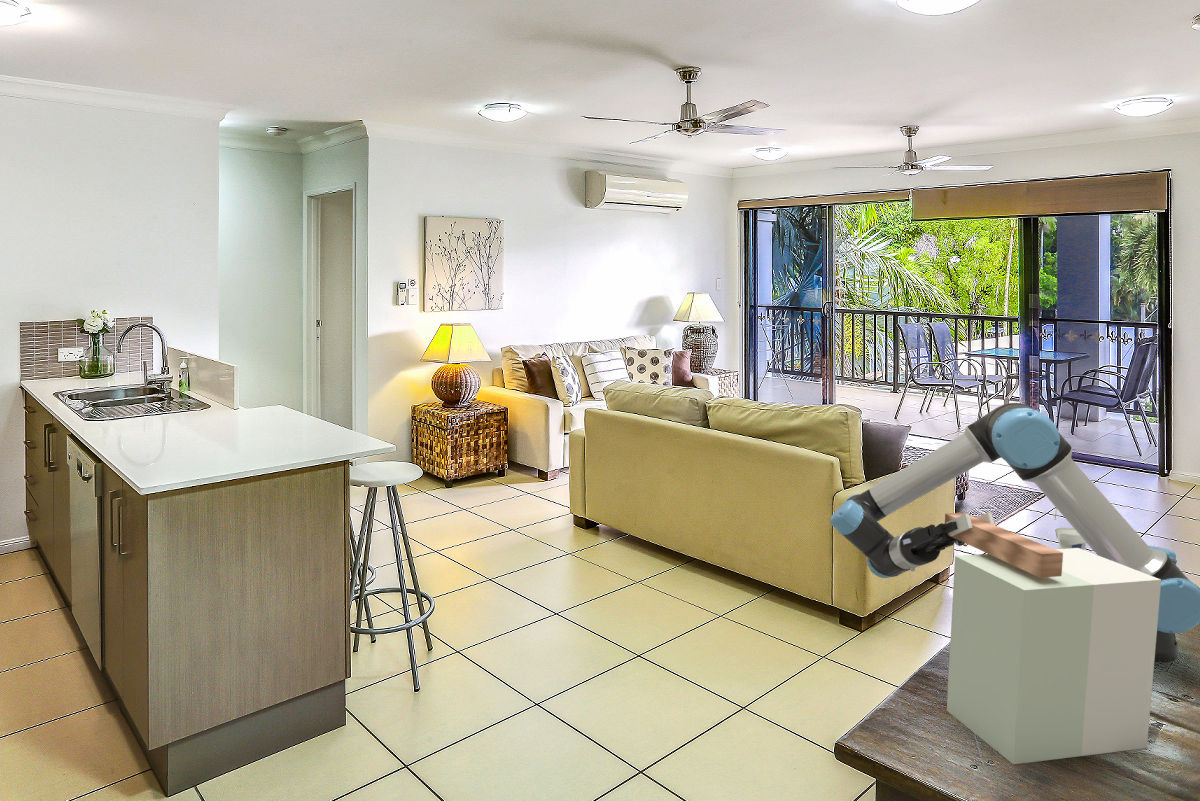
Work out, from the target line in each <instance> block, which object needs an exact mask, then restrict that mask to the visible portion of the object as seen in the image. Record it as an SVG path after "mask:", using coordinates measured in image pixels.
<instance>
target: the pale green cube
mask: <svg viewBox="0 0 1200 801" xmlns="http://www.w3.org/2000/svg"><path fill="white" fill-rule="evenodd" d="M1054 549H1055V548H1054ZM1055 550H1057V551H1060V552H1062V553H1063V562H1062V575H1061V576H1057V577H1043V578H1040V577H1038V576H1035V575H1033V574H1031V573H1029V572H1027V571H1025V570H1022V569H1020V568H1018V567H1016V566H1014V565H1012V564H1009V563H1007V562H1005V561H1003V560H1001V559H999V558H996V557H994V556H992V555H990V554H988V553H983V554H982V553H981V554H980V553H979V554H966V555H965V554H963V555H955V556H954V567H953V568H954V569H953V584H952V586H953V588H952V603H951V622H950V623H951V624H950V639H949V640H950V642H949V643H950V644H949V660H948V676H947V677H948V679H947V682H948V683H947V684H948V685H947V697H946V699H947V702H946V703H947V704H946V712H948V713H949V714H950V715H952V717H954V718H955V719H956V720H957V721H959V722H960V723H961V724H963V725H964V726H965V727H966V728H968V729H969V730H970V731H972V732H973V733H974V734H975V735H976V736H977V737H979V738H980V739H981V740H982V741H984V742H985V743H986V744H987V745H989V747H991V748H992V749H994V751H996V752H997V751H998V752H999V753H998V752H997V753H998V754H1000V755H1001V756H1002V757H1003V758H1005V759H1006V760H1007V761H1008V762H1010V763H1011V764H1012V765H1020V764H1028V763H1037V762H1044V761H1051V760H1052V761H1053V760H1061V759H1067V758H1068V759H1069V758H1077V757H1085V756H1093V755H1100V754H1101V755H1102V754H1109V753H1117V752H1125V751H1134V750H1142V749H1148V748H1147V747H1148V741H1149V740H1148V738H1149V726H1150V718H1151V717H1150V716H1151V705H1152V704H1151V702H1152V691H1153V682H1154V680H1153V679H1154V669H1155V661H1154V659H1155V647H1156V635H1157V623H1158V612H1159V600H1160V588H1161V579H1158V578H1156V577H1153V576H1150V575H1148V574H1145V573H1142V572H1140V571H1137V570H1135V569H1132V568H1129V567H1127V566H1124V565H1122V564H1119V563H1116V562H1114V561H1111V560H1109V559H1106V558H1103V557H1101V556H1098V555H1097V554H1096V553H1092V552H1091V551H1087V550H1086V549H1085V550H1082V549H1080V548H1068V549H1058V548H1057V549H1055Z"/></svg>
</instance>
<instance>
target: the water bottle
mask: <svg viewBox="0 0 1200 801" xmlns="http://www.w3.org/2000/svg"><path fill="white" fill-rule="evenodd" d="M1057 512H1058V509H1057V508H1056V507H1055V514H1054V521H1055V520H1056V519H1057ZM1054 531H1055V535H1056V539H1057V540H1058V548H1057V549H1068V548H1080V549H1082V550H1085V551H1086V545H1087V543H1086V541H1085V540H1084V539H1083V538H1082V537H1081V536H1080V534H1079V533H1078V532H1077V531H1076V530H1075V529H1074V528H1073V527H1056V529H1055V530H1054Z"/></svg>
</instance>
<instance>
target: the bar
mask: <svg viewBox="0 0 1200 801" xmlns="http://www.w3.org/2000/svg"><path fill="white" fill-rule="evenodd" d="M964 514H967V513H966V512H952V513H948V512H947V513H944V524H946V522H948V521H951V520H953V519H955V518H957V517H959V516H961V515H964ZM969 516H970V520H971V523H972V527H973V528H971V529H968V530H966V531H964V532H961V533H959V534H957V535H954V536H951V537H953V538H955V539H957V540H960V541H962V542H964V543H965V544H966V545H969V546H970V547H973V548H975V549H978V551H982V552H983V553H985V554H990V555H992V556H994V557H996V558H999V559H1001V560H1003V561H1005V562H1007V563H1009V564H1012V565H1014V566H1016V567H1018V568H1020V569H1022V570H1025V571H1027V572H1029V573H1031V574H1033V575H1035V576H1038V577H1040V578H1043V577H1057V576H1061V575H1062V562H1063V553H1062V552H1060V551H1057V550H1055V548H1052V547H1050V546H1047V545H1046V544H1042V543H1041V542H1037V541H1035V540H1032V539H1031V538H1030V539H1029V538H1027V537H1025V536H1022V535H1019V534H1018V533H1015V532H1012V531H1010V530H1007V529H1005V528H1002V527H1000V526H997V525H996V524H995V525H993V524H990V523H988V522H985V521H983V520H980V519H978V518H977V517H975V516H973V515H970V514H969ZM947 534H948V535H949V533H947Z"/></svg>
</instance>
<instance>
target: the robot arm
mask: <svg viewBox="0 0 1200 801" xmlns="http://www.w3.org/2000/svg"><path fill="white" fill-rule="evenodd" d="M1072 455H1073V447H1072V446H1071V445H1070V443H1069V442H1068V440H1066V438H1064V437H1063V435H1062V434H1061V433H1060V432H1059V430H1058V428H1057V426H1056V424H1055V423H1054V422H1053V420H1052V419H1051V418H1049V417H1048V416H1047V415H1046V414H1044V413H1043V412H1041V411H1039V410H1037V409H1035V408H1033V407H1031V406H1030V405H1027V404H1024V403H1021V402H1010V403H1006V404H1001V405H999V406H998V407H996V408H994V409H992V410H991V411H989V412H988V413H987V414H986V413H985V415H983V416H982V417H980V418H978V419H977V420H976V421H974V422H972V423H971V424H969V425H968V426H966V427H965V429H964V433H962V434H961V435H960V436H957V437H956V438H953V439H952V440H950V441H949V442H947V443H945V444H943V445H942V446H940V447H939V448H936V449H935V450H933V451H931V452H930V453H928V454H927V455H924V456H923V457H922V458H920V459H918V460H916V461H914V462H913V463H911V464H909V465H907V466H906V467H904V468H902V469H901V470H899V471H897V472H895V473H894V474H892V475H890V476H889V477H887V478H886V479H884V480H882V481H880V482H879V483H876V484H875V485H874V486H872V487H869V488H868V489H866V490H865V491H863V492H860V493H856V494H851V496H849V497H848V498H847V499H846V500H845V501H844V502H843V503H842V504H841V505H840V506H839V507H838V508H837V509H836V510H835V511H834V512H833V513H832V515H831V517H830V519H829V522H830V525H831V526H832V527H833V528H834V529H835V530H836V531H837V533H839V535H842V537H844V538H845V539H846V540H847V541H848V542H850V543H851V544H852V545H853V546H854V547H855V548H856V549H858V551H859V552H861V553H862V554H863V555H864V556H865V557H866V564H867V567H868V568H869V570H870V572H871V573H872V574H873V575H875V576H876V577H878V578H881V579H889V578H894V577H898V576H900V575H902V574H904V573H907V572H909V571H910V572H916V568H918V567H921V566H924V565H927V564H930V563H933V562H934V561H936V559H937V558H938V557H939V556H940V554H941V551H944V550H945V549H946V548H948V547H952V546H954V545H956V546H959V547H962V546H963V545H965V544H966V543H964V542H962V541H960V540H957V539H955V538H953V537H951V536H954V535H957V534H959V533H961V532H964V531H966V530H968V529H971V528H973V527H972V523H971V520H970V516H969V515H970V513H966V514H964V515H961V516H959V517H957V518H955V519H953V520H951V521H948V522H946V524H945V523H939V524H938V525H935V524H929V525H927V526H923V527H921V526H919V527H918V526H917V527H914V528H913V529H910V530H908V531H905V532H903V533H900V534H899V535H896V536H895V537H894V535H893V534H891V533H890V531H888V530H887V529H885V527H883V525H881V523H879V521H882V519H884V518H886V517H888V516H889V515H891V514H893V513H894V512H896V511H898V510H900V509H903V507H905V506H907V505H909V504H911V503H913V502H914V501H916V500H918V499H919V498H921V497H923V496H925V495H927V494H928V493H929V494H930V493H931V492H932V491H933V490H935V489H938V488H939V487H941V486H942V485H945V484H947V483H948V482H950V481H951V480H954V479H955V478H957V477H959V476H961V475H962V474H964V473H966V472H967V471H970V470H971V469H974V468H975V467H976V466H979V465H980V464H982V463H993V462H996V461H997V460H999V459H1002V460H1004V461H1005V462H1006V463H1007V464H1008V466H1009V467H1010V468H1011V469H1012V471H1014V473H1015V474H1016V475H1017V476H1018V477H1019V478H1020V480H1022V482H1030V483H1034V484H1035V485H1036V486H1037V487H1038V489H1040V491H1041V492H1042V493H1043V494H1044V495H1045V496H1046V498H1047V499H1048V500H1049V501H1050V503H1052V505H1053V506H1054V507H1055V509H1056V508H1057V511H1058V512H1059V513H1060V514H1061V515H1062V516H1063V517H1064V518H1065V519H1066V520H1067V522H1068V523H1069V524H1070V526H1072V528H1074V529H1075V530H1076V531H1077V532H1078V533H1079V534H1080V536H1081V537H1082V538H1083V539H1084V540H1085V541H1086V545H1088V546H1089V548H1091V550H1092V551H1093V552H1094V554H1096V555H1098V556H1101V557H1103V558H1106V559H1109V560H1111V561H1114V562H1116V563H1119V564H1122V565H1124V566H1127V567H1129V568H1132V569H1135V570H1137V571H1140V572H1142V573H1145V574H1148V575H1150V576H1153V577H1156V578H1158V579H1161V588H1160V600H1159V612H1158V623H1157V635H1156V647H1155V659H1154V662H1171V661H1173V660H1176V659H1177V658H1178V656H1179V644H1178V640H1177V637H1176V634H1181V633H1185V632H1188V631H1191V630H1192V629H1194V628H1195V627H1197V626H1198V625H1199V624H1200V587H1199V586H1198V585H1197V583H1194V582H1193V581H1191V580H1190V579H1189V578H1188V577H1187V575H1186V574H1185V573H1184V572H1182V570H1181V569H1180V568H1179V567H1178V566H1177V562H1178V560H1177V554H1176V553H1175V551H1174V550H1171V549H1167V548H1164V547H1158V546H1154V545H1153V546H1152V545H1148V544H1147V543H1146V542H1145V540H1144V538H1142V537H1141V536H1140V535H1139V533H1138V532H1136V530H1135V529H1134V528H1133V526H1131V525H1130V524H1129V522H1128V521H1127V520H1126V519H1125V518H1124V516H1123V515H1122V514H1121V512H1119V511H1118V510H1117V509H1116V507H1114V505H1113V503H1111V502H1110V501H1109V500H1108V498H1107V497H1106V496H1105V495H1104V494H1103V493H1102V492H1101V490H1100V489H1099V488H1098V487H1097V486H1096V485H1095V484H1094V483H1093V482H1092V480H1091V479H1090V478H1089V477H1088V476H1087V474H1086V473H1085V472H1084V471H1083V470H1082V469H1081V467H1079V466H1078V464H1077V463H1076V462H1075V461H1074V460H1073V459H1072ZM976 518H978V519H980V520H983V521H985V522H988V523H990V524H993V525H995V526H996V524H995V521H994V517H993V514H992V512H986V513H983V514H981V515H980V516H977V517H976ZM947 533H949V535H948V534H947Z"/></svg>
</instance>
